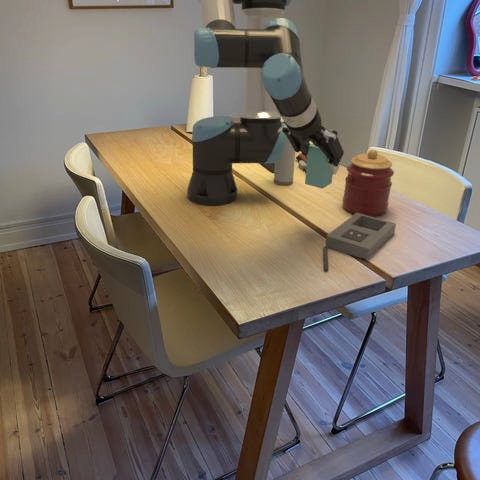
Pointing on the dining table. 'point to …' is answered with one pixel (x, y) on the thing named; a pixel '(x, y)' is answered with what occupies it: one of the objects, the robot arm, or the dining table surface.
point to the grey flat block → (360, 235)
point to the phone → (269, 166)
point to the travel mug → (285, 165)
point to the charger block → (317, 168)
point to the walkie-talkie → (302, 161)
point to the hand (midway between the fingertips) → (326, 167)
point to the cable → (325, 258)
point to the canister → (368, 184)
